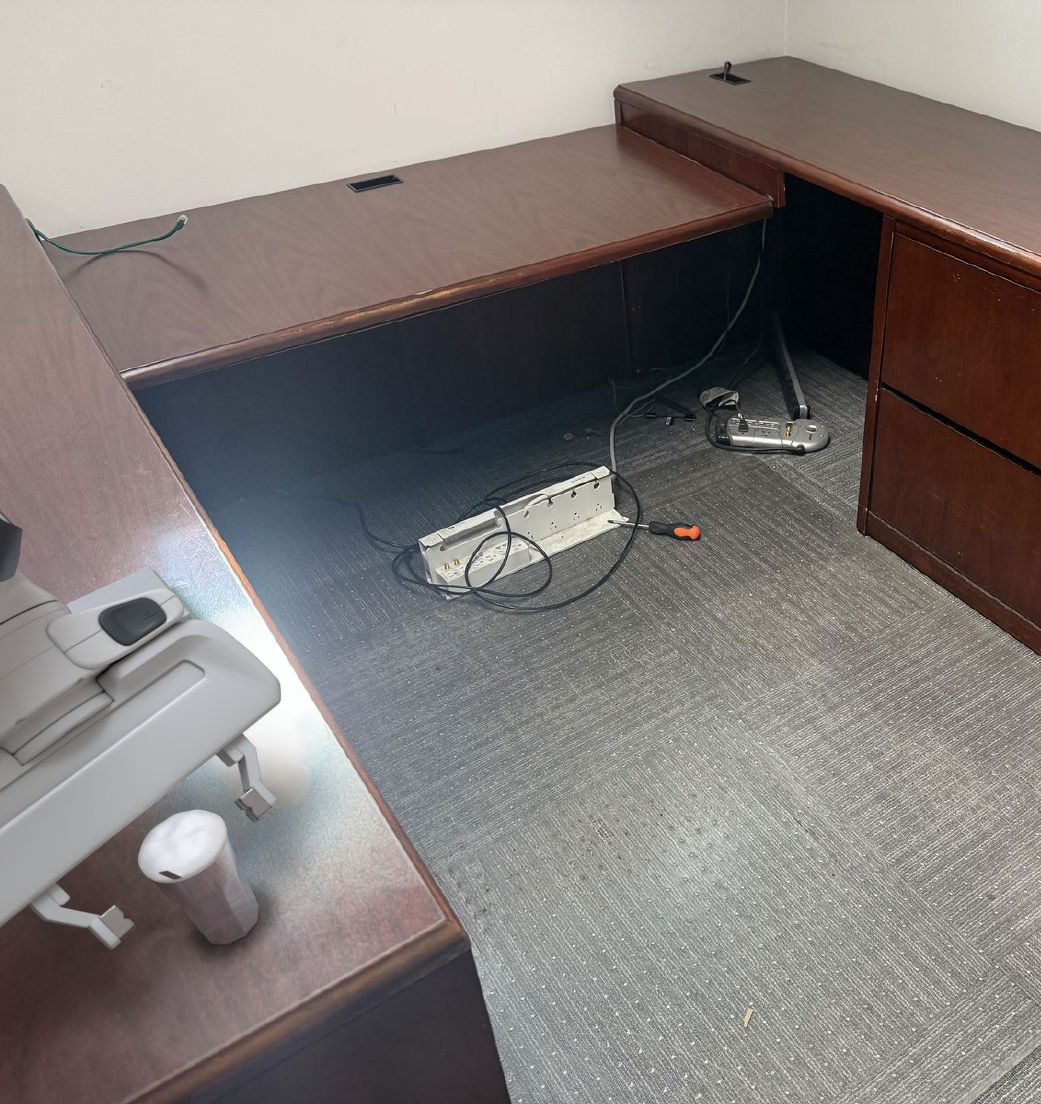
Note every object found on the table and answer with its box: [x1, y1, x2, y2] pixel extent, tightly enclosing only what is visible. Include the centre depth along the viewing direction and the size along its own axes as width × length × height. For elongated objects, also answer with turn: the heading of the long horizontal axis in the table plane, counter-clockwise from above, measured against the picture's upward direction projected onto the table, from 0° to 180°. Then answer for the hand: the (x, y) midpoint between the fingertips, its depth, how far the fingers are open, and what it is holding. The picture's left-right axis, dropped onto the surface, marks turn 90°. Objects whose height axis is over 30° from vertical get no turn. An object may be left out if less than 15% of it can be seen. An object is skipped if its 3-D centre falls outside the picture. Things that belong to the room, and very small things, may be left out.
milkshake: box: [137, 809, 260, 945], centre depth 58 cm, size 4×5×10 cm
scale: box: [65, 565, 199, 622], centre depth 79 cm, size 7×9×4 cm
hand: (199, 872), depth 58 cm, fingers open, 8 cm apart
